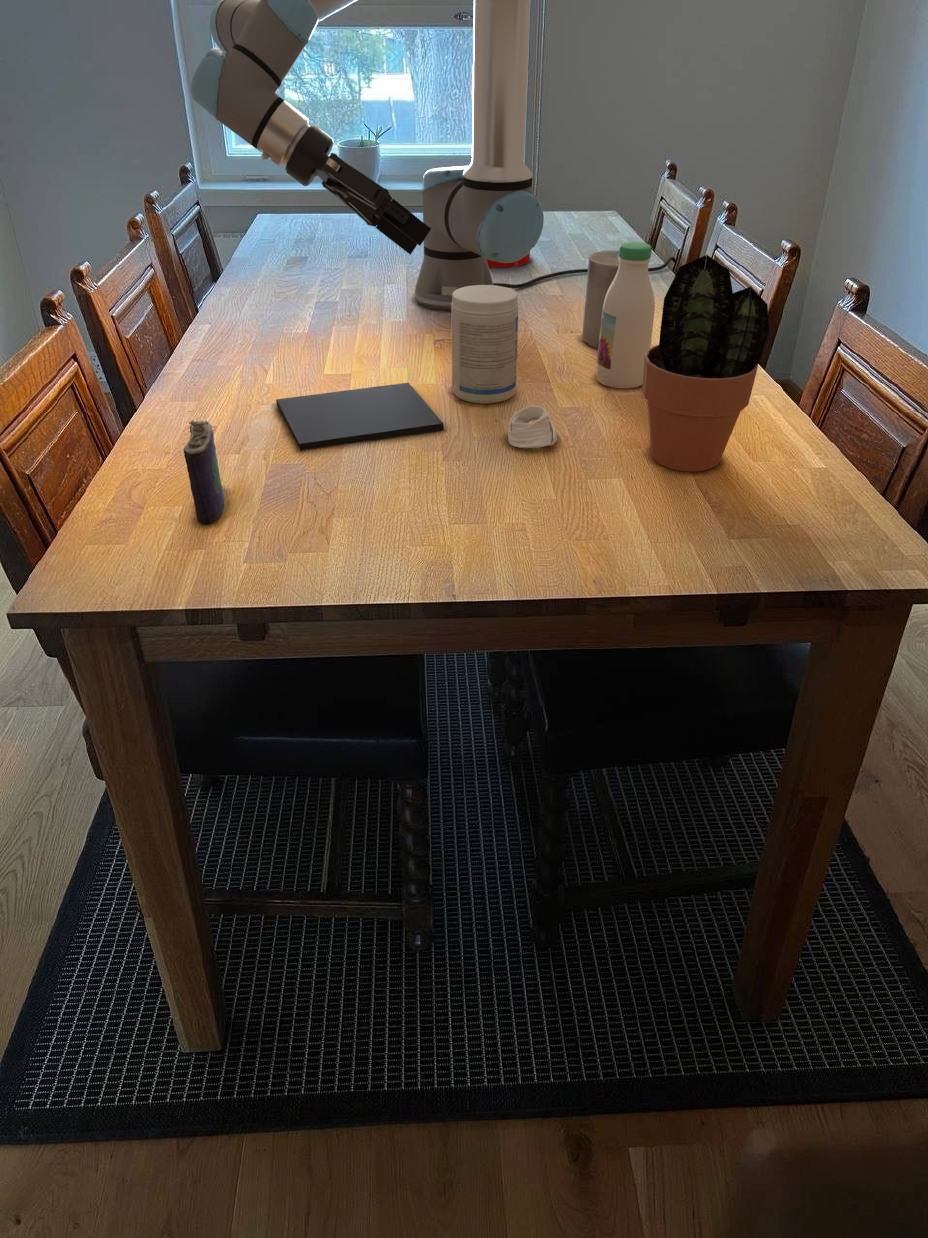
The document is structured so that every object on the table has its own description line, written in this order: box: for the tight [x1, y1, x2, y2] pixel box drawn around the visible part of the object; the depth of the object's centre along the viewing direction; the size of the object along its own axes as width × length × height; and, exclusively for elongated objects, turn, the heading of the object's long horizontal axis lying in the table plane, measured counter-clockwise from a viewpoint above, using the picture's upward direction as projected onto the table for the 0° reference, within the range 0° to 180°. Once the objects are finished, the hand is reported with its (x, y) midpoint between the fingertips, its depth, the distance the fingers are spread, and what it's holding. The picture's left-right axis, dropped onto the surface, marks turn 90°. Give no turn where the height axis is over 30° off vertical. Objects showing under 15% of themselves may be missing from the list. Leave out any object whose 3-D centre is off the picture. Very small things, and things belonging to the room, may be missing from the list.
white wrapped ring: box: [507, 405, 558, 449], centre depth 122 cm, size 8×7×5 cm
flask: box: [183, 419, 225, 526], centre depth 104 cm, size 9×3×11 cm, turn 8°
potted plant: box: [641, 254, 770, 473], centre depth 112 cm, size 14×14×25 cm
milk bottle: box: [595, 241, 656, 389], centre depth 136 cm, size 8×8×20 cm
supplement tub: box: [450, 285, 519, 405], centre depth 132 cm, size 10×10×15 cm
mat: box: [275, 382, 444, 452], centre depth 129 cm, size 20×16×1 cm
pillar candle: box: [581, 249, 619, 349], centre depth 152 cm, size 10×10×15 cm
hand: (420, 242), depth 135 cm, fingers open, 13 cm apart
